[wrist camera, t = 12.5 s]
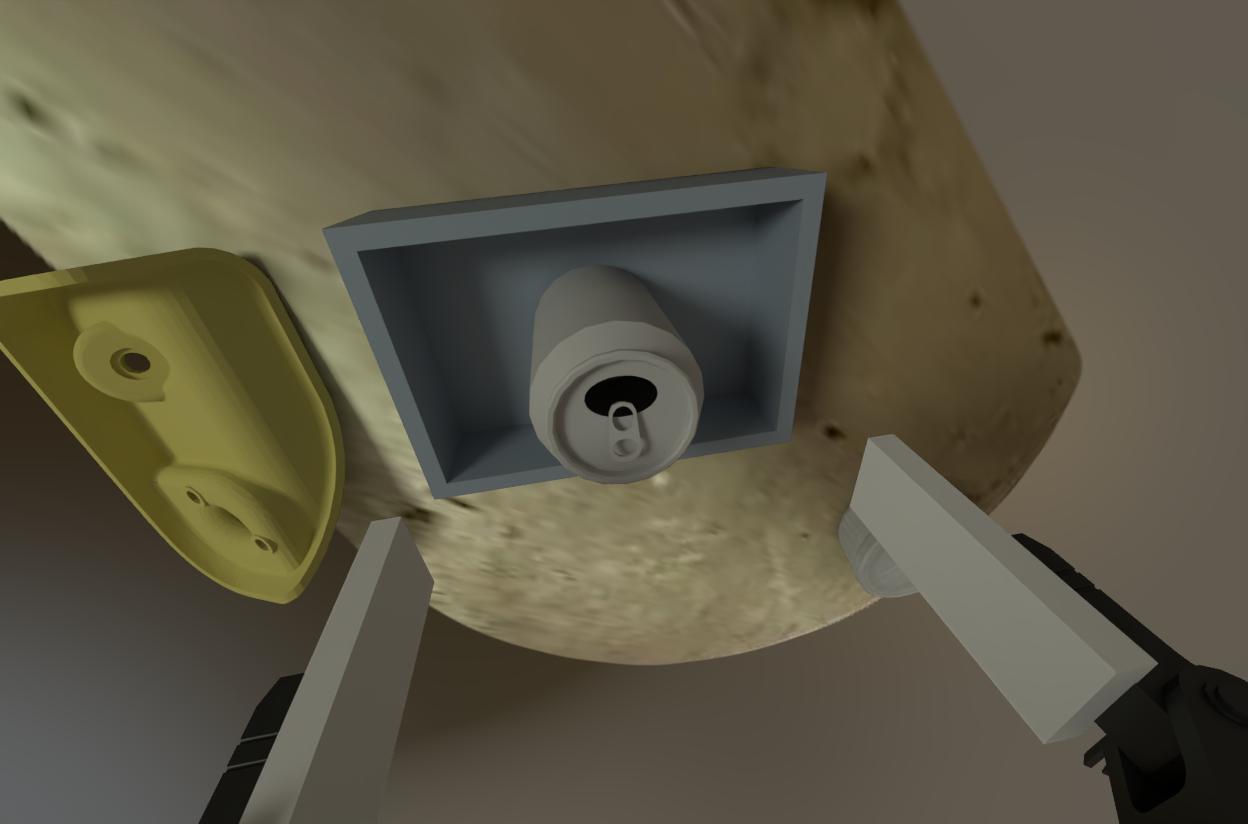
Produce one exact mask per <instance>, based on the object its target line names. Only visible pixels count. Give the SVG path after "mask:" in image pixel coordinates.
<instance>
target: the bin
mask: <svg viewBox="0 0 1248 824" xmlns="http://www.w3.org/2000/svg"><path fill="white" fill-rule="evenodd" d="M826 177H827V172H819V171H808V170H798V169H787V168H776V167H765V168H756V169H747V170H738V171H729V172H720V173H711V174H702V175H693V176H684V177H675V178H665V179H656V180H647V181H638V182H629V183H620V184H611V185H602V186H593V187H584V188H575V189H566V190H557V191H547V192H538V193H529V194H520V195H511V196H502V197H493V198H484V199H475V200H466V201H457V202H448V203H438V204H429V205H420V206H411V207H402V208H393V209H384V210H375V211H369V212H367V213H364V214H361V215H358V216H356V217H353V218H350V219H348V220H345V221H342V222H340V223H337V224H334V225H331V226H329V227H326V228H323V229H322V231H323V233H324V236H325V238H326V240H327V243H328V245H329V248H330V250H331V252H332V255H333V257H334V260H335V262H336V264H337V267H338V269H339V272H340V274H341V276H342V279H343V281H344V284H345V286H346V288H347V291H348V293H349V296H350V298H351V300H352V303H353V305H354V308H355V310H356V312H357V315H358V317H359V320H360V322H361V324H362V327H363V329H364V332H365V334H366V336H367V339H368V341H369V344H370V346H371V348H372V351H373V353H374V356H375V358H376V360H377V363H378V365H379V368H380V370H381V372H382V375H383V377H384V380H385V382H386V384H387V387H388V389H389V391H390V394H391V396H392V399H393V401H394V403H395V406H396V408H397V411H398V413H399V415H400V418H401V420H402V423H403V425H404V427H405V430H406V432H407V435H408V437H409V439H410V442H411V444H412V447H413V449H414V451H415V454H416V456H417V459H418V461H419V463H420V466H421V468H422V471H423V473H424V475H425V478H426V480H427V483H428V485H429V487H430V490H431V492H432V495H433V497H434V499H441V498H447V497H453V496H459V495H466V494H472V493H478V492H484V491H490V490H496V489H502V488H508V487H514V486H521V485H527V484H533V483H539V482H545V481H551V480H557V479H563V478H569V477H576V476H578V475H576V474H574V473H573V472H571V471H569V470H568V469H566V468H565V467H564V466H563V465H562V464H561V463H560V461H559V460H558V459H557V458H556V457H554V456H553V455H552V454H551V453H550V451H549V450H548V449H547V448H546V447H545V446H544V444H543V443H542V442H541V441H540V440H539V439H538V437H537V434H536V432H535V429H534V426H533V424H532V421H531V418H530V416H529V407H530V378H531V364H532V349H533V334H534V320H535V313H536V310H537V307H538V305H539V302H540V299H541V297H542V295H543V294H544V293H545V291H546V290H547V289H548V288H549V287H550V285H551V284H552V283H553V282H554V280H556V279H558V278H559V277H561V276H562V275H564V274H565V273H567V272H569V271H570V270H572V269H576V268H580V267H584V266H588V265H592V264H593V265H605V266H614V267H616V268H618V269H621V270H623V271H625V272H627V273H630V274H632V275H633V276H634V277H635V278H636V279H637V280H638V281H639V282H641V283H642V284H643V285H644V286H645V287H646V288H647V290H648V291H649V293H650V294H651V295H652V297H653V298H654V300H655V301H656V302H657V304H658V305H659V307H660V308H661V310H662V311H663V312H664V314H665V315H666V317H667V318H668V320H669V321H670V322H671V324H672V325H673V327H674V328H675V329H676V331H677V332H678V334H679V335H680V337H681V338H682V339H683V341H684V342H685V344H686V345H687V347H688V348H689V349H690V351H691V353H692V355H693V357H694V359H695V361H696V362H697V364H698V366H699V368H700V370H701V372H702V379H703V388H704V400H703V404H702V408H701V413H700V418H699V422H698V426H697V430H696V435H695V436H694V438H693V440H692V441H691V443H690V445H689V446H688V448H687V450H686V451H685V453H684V454H683V455H682V456H681V457H680V458H678V459H677V460H679V459H686V458H692V457H698V456H704V455H710V454H716V453H722V452H728V451H734V450H741V449H747V448H753V447H759V446H765V445H771V444H777V443H783V442H789V441H791V434H792V427H793V420H794V412H795V405H796V398H797V390H798V383H799V376H800V368H801V361H802V354H803V346H804V339H805V332H806V324H807V317H808V310H809V302H810V295H811V288H812V280H813V273H814V266H815V258H816V251H817V243H818V236H819V229H820V221H821V214H822V207H823V199H824V192H825V185H826Z"/></svg>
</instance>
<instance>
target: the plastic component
mask: <svg viewBox="0 0 1248 824" xmlns="http://www.w3.org/2000/svg"><path fill="white" fill-rule="evenodd" d="M0 349H1V350H2V351H3V352H4V354H5V355H6V356H7V357H8V358H9V359H10V361H11V362H12V363H13V364H14V365H15V366H16V368H17V369H18V370H19V371H20V372H21V373H22V375H23V376H24V377H25V378H26V379H27V380H28V382H29V383H30V384H31V385H32V386H33V387H34V389H35V390H36V391H37V392H38V393H39V394H40V396H41V397H42V398H43V399H44V400H45V401H46V402H47V404H48V405H49V406H50V407H51V408H52V410H53V411H54V412H55V413H56V414H57V415H58V417H59V418H60V419H61V420H62V421H63V423H64V424H65V425H66V426H67V427H68V428H69V429H70V431H71V432H72V433H73V434H74V435H75V436H76V438H77V439H78V440H79V441H80V442H81V444H82V445H83V446H84V447H85V448H86V449H87V450H88V452H89V453H90V454H91V455H92V456H93V458H94V459H95V460H96V461H97V462H98V463H99V465H100V466H101V467H102V468H103V469H104V470H105V472H106V473H107V474H108V475H109V476H110V477H111V479H112V480H113V481H114V482H115V483H116V484H117V486H118V487H119V488H120V489H121V490H122V491H123V493H124V494H125V495H126V496H127V497H128V498H129V500H130V501H131V502H132V503H133V504H134V505H135V507H136V508H137V509H138V510H139V511H140V512H141V513H142V515H143V516H144V517H145V518H146V519H147V520H148V521H149V523H150V524H151V525H152V526H153V527H154V528H155V529H156V530H157V531H158V532H159V534H160V535H161V536H162V537H163V538H164V539H165V540H166V541H167V542H168V543H169V544H170V545H171V546H172V547H173V548H174V549H175V550H176V551H177V552H178V553H179V554H180V555H181V556H182V557H184V558H185V559H186V560H187V561H188V562H189V563H190V564H192V565H193V566H194V567H195V568H197V569H198V570H199V571H201V572H202V573H203V574H205V575H206V576H208V577H209V578H211V579H212V580H214V581H215V582H217V583H219V584H221V585H222V586H224V587H226V588H228V589H230V590H232V591H235V592H237V593H240V594H243V595H245V596H249V597H253V598H258V599H262V600H267V601H271V602H276V603H280V604H285V603H288V602H290V601H292V600H293V599H295V598H297V597H298V596H299V595H300V594H301V593H302V592H303V591H304V590H305V588H306V586H307V585H308V583H309V582H310V580H311V579H312V577H313V575H314V574H315V572H316V570H317V569H318V567H319V565H320V562H321V561H322V558H323V557H324V555H325V553H326V551H327V548H328V546H329V543H330V540H331V538H332V535H333V533H334V529H335V526H336V523H337V520H338V516H339V512H340V507H341V503H342V498H343V490H344V482H345V451H344V443H343V436H342V431H341V427H340V423H339V419H338V416H337V413H336V410H335V408H334V405H333V402H332V399H331V397H330V395H329V393H328V391H327V389H326V388H325V386H324V384H323V382H322V380H321V378H320V376H319V374H318V372H317V370H316V368H315V366H314V364H313V362H312V360H311V359H310V357H309V355H308V353H307V351H306V349H305V347H304V345H303V343H302V341H301V339H300V337H299V335H298V333H297V331H296V330H295V328H294V326H293V324H292V322H291V320H290V318H289V316H288V314H287V312H286V310H285V308H284V306H283V304H282V302H281V301H280V299H279V297H278V295H277V293H276V291H275V289H274V287H273V285H272V283H271V281H270V280H269V279H268V278H267V277H266V276H265V275H264V274H263V273H262V272H261V270H260V269H258V268H257V267H256V266H254V265H253V264H251V263H250V262H248V261H247V260H245V259H243V258H241V257H239V256H237V255H234V254H232V253H230V252H226V251H222V250H218V249H214V248H191V249H185V250H179V251H173V252H167V253H161V254H155V255H149V256H143V257H137V258H131V259H125V260H119V261H113V262H107V263H101V264H95V265H89V266H83V267H77V268H71V269H65V270H60V271H54V272H48V273H42V274H36V275H31V276H25V277H20V278H15V279H9V280H4V281H0ZM131 352H132V353H139V354H141V355H144V356H146V357H147V359H148V360H149V361H150V369H148V370H145V371H141V370H136V369H133V368H131V367H130V366H128V364H127V363H126V361H125V356H126V354H127V353H131Z"/></svg>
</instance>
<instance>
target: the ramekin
mask: <svg viewBox="0 0 1248 824" xmlns="http://www.w3.org/2000/svg"><path fill="white" fill-rule="evenodd" d="M838 532H839V540H840V543H841V545H842V547H843V549H844V551H845V553H846V555H847V557H848V559H849V561H850V563H851V565H852V567H853V569H854V573H855V577H856V579H857V581H858V582H859V583H860V585H861V586H862V587H863V588H864V589H865V591H866V592H868V593H870V594H872V595H875V596H879V597H900V596H905V595H910V594H913V593H917V592H919V591H918V590H917V588H916V587H915V586H914V585H913V583H912V582H911V581H910V580H909V579H908V577H907V576H906V575H905V574H904V572H903V571H902V570H901V569H900V568H899V566H898V565H897V564H896V563H895V561H894V560H893V559H892V558H891V557H890V555H889V554H888V553H887V552H886V550H885V549H884V548H883V547H882V545H881V544H880V543H879V542H878V541H877V539H876V538H875V537H874V536H873V534H872V533H871V532H870V531H869V530H868V528H867V527H866V526H865V525H864V523H863V522H862V521H861V520H860V519H859V517H858V516H857V515H856V514H855V512H854V511H853V510H852V509H851V508H850V505H849V506H848V508H847V509H846V510H845V512H844V514H843V516H842V518H841V521H840V525H839V530H838Z"/></svg>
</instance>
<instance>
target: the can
mask: <svg viewBox="0 0 1248 824" xmlns="http://www.w3.org/2000/svg"><path fill="white" fill-rule="evenodd" d="M703 400H704V388H703V379H702V372H701V370H700V368H699V366H698V364H697V362H696V361H695V359H694V357H693V355H692V353H691V351H690V349H689V348H688V347H687V345H686V344H685V342H684V341H683V339H682V338H681V337H680V335H679V334H678V332H677V331H676V329H675V328H674V327H673V325H672V324H671V322H670V321H669V320H668V318H667V317H666V315H665V314H664V312H663V311H662V310H661V308H660V307H659V305H658V304H657V302H656V301H655V300H654V298H653V297H652V295H651V294H650V293H649V291H648V290H647V288H646V287H645V286H644V285H643V284H642V283H641V282H639V281H638V280H637V279H636V278H635V277H634V276H633V275H632V274H630V273H627V272H625V271H623V270H621V269H618V268H616V267H614V266H605V265H593V264H592V265H588V266H584V267H580V268H576V269H572V270H570V271H569V272H567V273H565V274H564V275H562V276H561V277H559V278H558V279H556V280H554V282H553V283H552V284H551V285H550V287H549V288H548V289H547V290H546V291H545V293H544V294H543V295H542V297H541V299H540V302H539V305H538V307H537V310H536V313H535V320H534V334H533V349H532V364H531V378H530V407H529V416H530V418H531V421H532V424H533V426H534V429H535V432H536V434H537V437H538V439H539V440H540V441H541V442H542V443H543V444H544V446H545V447H546V448H547V449H548V450H549V451H550V453H551V454H552V455H553V456H554V457H556V458H557V459H558V460H559V461H560V463H561V464H562V465H563V466H564V467H565V468H566V469H568V470H569V471H571V472H573V473H574V474H576V475H578V476H579V477H581V478H583V479H586V480H590V481H594V482H598V483H602V484H629V483H633V482H636V481H640V480H644V479H648V478H650V477H652V476H654V475H656V474H658V473H660V472H661V471H663V470H665V469H667V468H669V467H670V466H671V465H672V464H673V463H674V462H675V461H676V460H677V459H678V458H680V457H681V456H682V455H683V454H684V453H685V451H686V450H687V448H688V446H689V445H690V443H691V441H692V440H693V438H694V436H695V435H696V430H697V426H698V422H699V418H700V413H701V408H702V404H703Z"/></svg>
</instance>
